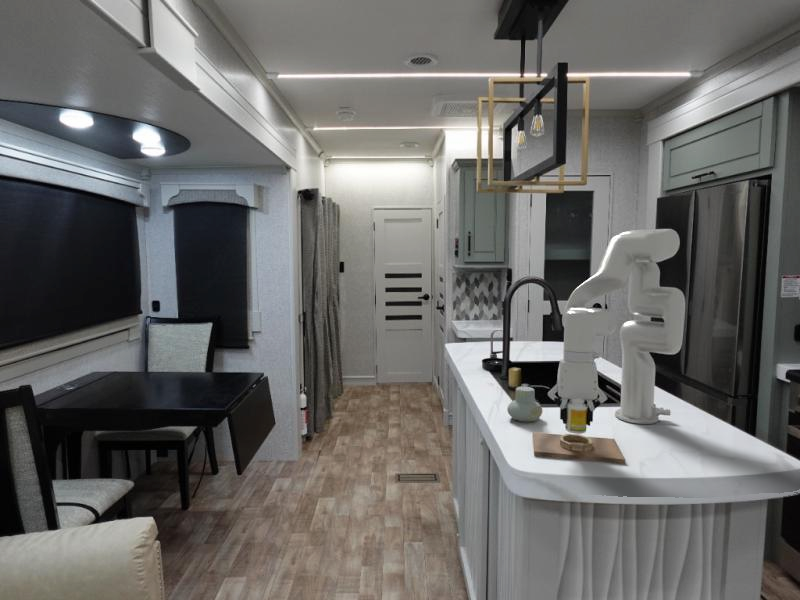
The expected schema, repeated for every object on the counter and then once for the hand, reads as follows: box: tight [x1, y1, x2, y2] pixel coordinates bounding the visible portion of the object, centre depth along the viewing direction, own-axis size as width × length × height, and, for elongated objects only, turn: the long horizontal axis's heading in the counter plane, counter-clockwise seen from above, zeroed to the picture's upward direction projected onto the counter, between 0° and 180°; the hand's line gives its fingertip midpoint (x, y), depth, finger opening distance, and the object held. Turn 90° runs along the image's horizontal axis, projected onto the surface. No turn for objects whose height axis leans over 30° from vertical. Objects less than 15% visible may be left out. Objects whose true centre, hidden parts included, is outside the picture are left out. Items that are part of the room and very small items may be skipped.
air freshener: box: [506, 386, 543, 423], centre depth 155 cm, size 11×8×10 cm
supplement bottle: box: [564, 399, 588, 435], centre depth 130 cm, size 5×5×10 cm
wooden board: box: [532, 432, 626, 465], centre depth 131 cm, size 22×14×3 cm, turn 76°
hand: (576, 422), depth 130 cm, fingers closed on supplement bottle, 5 cm apart
